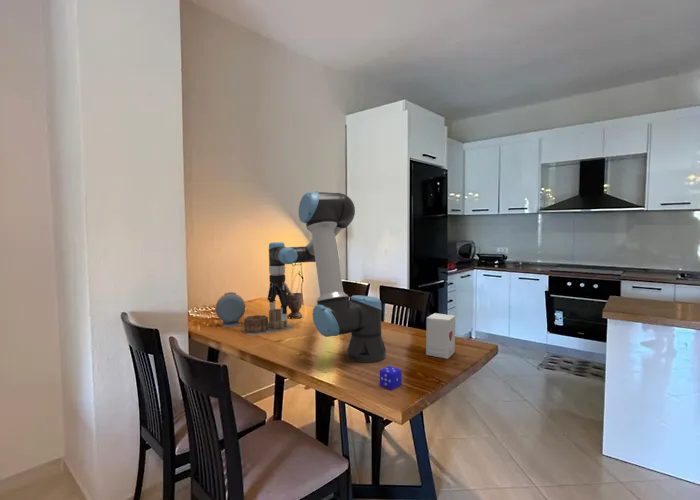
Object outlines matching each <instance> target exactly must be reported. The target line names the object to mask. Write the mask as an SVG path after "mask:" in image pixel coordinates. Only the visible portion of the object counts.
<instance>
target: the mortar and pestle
mask: <svg viewBox="0 0 700 500" xmlns="http://www.w3.org/2000/svg"><path fill="white" fill-rule="evenodd" d="M282 285H283V286H286V292H287V297H288V301H289V306H287V308H288V309H289V310H290V313H289V314H288V318H289V317H290V318H289V319H291V318H295V319H300V317H301V318H302V317H303V315H302V314H303V313H301V312H300V310H301V309H302V307H303V306H302V305H303V301H304V300H303V293H302V292H291V290H290V287H288V284H287V283H286V282H284V283H282Z"/></svg>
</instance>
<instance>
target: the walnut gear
mask: <svg viewBox="0 0 700 500" xmlns="http://www.w3.org/2000/svg"><path fill="white" fill-rule="evenodd" d="M243 323H244V328H245V331H247V333H254V334H255V333H261V332H266V330H268V324H269V316H266V315H265V314H264V315H259V314H255V315H249V316H246V317H244V322H243ZM247 333H246V334H247Z"/></svg>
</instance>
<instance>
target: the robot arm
mask: <svg viewBox="0 0 700 500" xmlns="http://www.w3.org/2000/svg"><path fill="white" fill-rule="evenodd" d="M355 214H356V206H355V204H354V201H352V198H350V197H349V196H348V195H347V194H345V193H341V192H325V191H324V192H322V191H309V192H305V193H304V194H303V196H301V199H300V201H299V205H298V218H299V221H300V222H301V223H303V224H305V226H306V230H307V231H308V232H310V233H311V240H310V241H309V242H308V244H306V246H288V247H286V246H285V243H284V242H282V241H280V242H278V241H277V242H270V243H268V271H269V272H268V273H269V289H268V292H267V293H268V294H267V301H268V303H269V310H273V309H276V298H277V297H278V299H279V302H280V309H281V321H285V320H287V321H288V306H289V301H288V297H287V294H288V293H287V292H286V286H283V285H282V283H286V265H292V264H302V263H315V268H316V274H317V281H318V288H319V297H318V298H317V299H316V303H317V304H316V306H314V307H313V308H312V309H313V310H312V321H313V324H314V326H315V328H316V331H318V332H319V334H320V335H321V336H322V337H325V338H326V337H327V338H328V337H337V336H341V335H346V334H351V335H350V339H349V342H348V347H347V349H346V357H347V358H348V359H349V360H351V361H354V362H358V363H376V362H380V361H383V360H384V359H386V357H387V349H386V347H385V342H384V340H383V339H384V338H383V337H382V336H383V335H382V314H383V313H382V310H383V309H382V301H381V299H380V298H378V297H375V296H370V295H369V296H368V295H361V294H360V295H357V294H356V295H355V294H354V295H352V296H351V297H350V300H349V295H348V294H347V293H345V291H344V287H343V280H342V274H341V267H340V260H339V253H338V249H337V248H338V247H337V242H336V237H337V235H338V234H339V233H340V232H341V231H342V230H343V229H346V228H347V227H349V225H351V223H352V222H353V220H354V218H355Z"/></svg>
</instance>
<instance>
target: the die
mask: <svg viewBox="0 0 700 500" xmlns="http://www.w3.org/2000/svg"><path fill="white" fill-rule="evenodd" d="M402 372H403V371H402V369H401V368H397V367H393V366H391V365H389V366H386V367H384V368H382V369H380V370H379V386H380V387H383V388H386V389H388V390H391V391H392V390H395V389H397V388H398V387H400V386H402V384H403V383H402V377H403V376H402Z"/></svg>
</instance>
